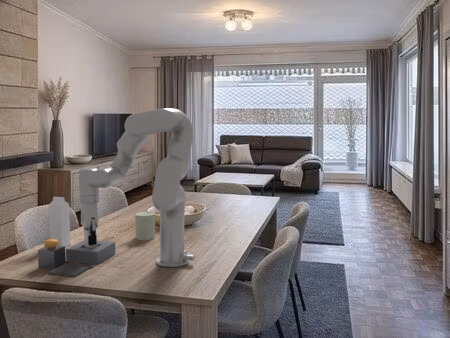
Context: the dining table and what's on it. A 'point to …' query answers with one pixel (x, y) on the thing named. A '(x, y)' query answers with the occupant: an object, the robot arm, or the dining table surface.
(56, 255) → the dark grey cube
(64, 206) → the milk
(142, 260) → the dining table surface
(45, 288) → the dining table surface
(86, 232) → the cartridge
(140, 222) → the can
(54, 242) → the plunger
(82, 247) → the block
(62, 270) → the mat
